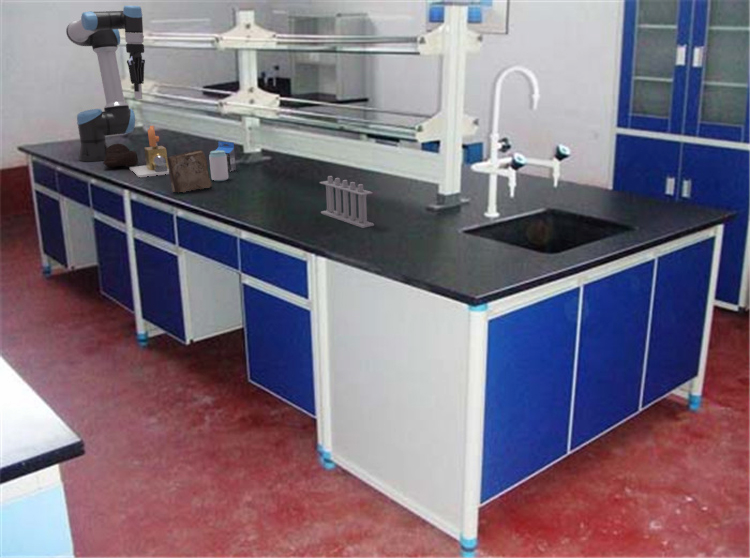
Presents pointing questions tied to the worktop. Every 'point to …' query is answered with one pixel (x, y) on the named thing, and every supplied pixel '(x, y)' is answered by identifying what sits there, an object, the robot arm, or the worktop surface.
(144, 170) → the mount board
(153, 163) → the valve
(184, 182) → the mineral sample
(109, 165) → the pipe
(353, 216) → the test tube rack
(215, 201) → the worktop surface
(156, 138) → the lever
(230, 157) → the label tape cartridge
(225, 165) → the can
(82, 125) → the robot arm
